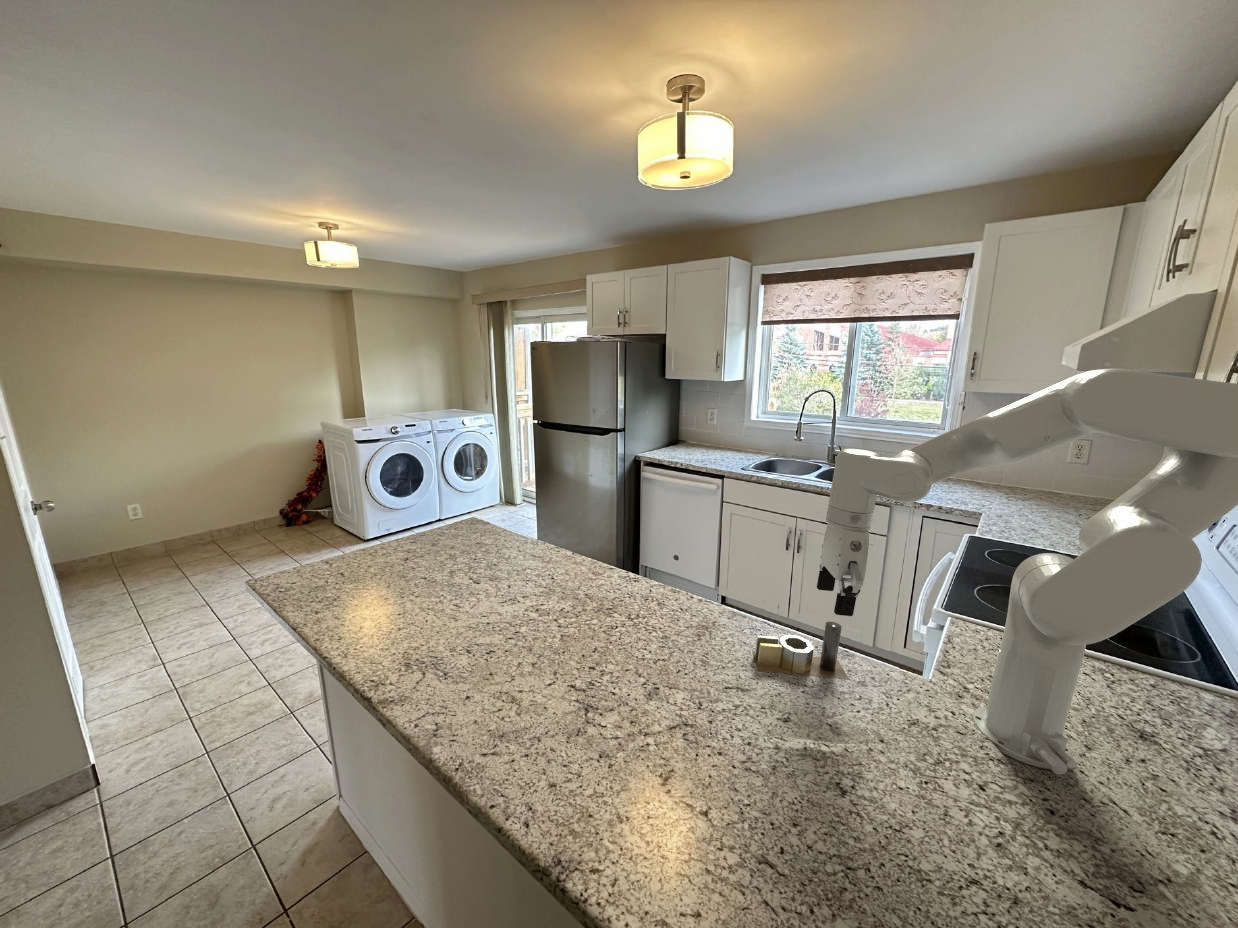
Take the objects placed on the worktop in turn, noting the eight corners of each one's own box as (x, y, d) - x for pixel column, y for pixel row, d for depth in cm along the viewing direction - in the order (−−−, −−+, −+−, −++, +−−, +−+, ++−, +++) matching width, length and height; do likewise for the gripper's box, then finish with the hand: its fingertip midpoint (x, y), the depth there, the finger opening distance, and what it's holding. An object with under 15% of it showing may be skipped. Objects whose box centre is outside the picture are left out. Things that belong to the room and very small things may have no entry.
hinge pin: (837, 672, 92) (843, 629, 91) (822, 670, 93) (828, 628, 91) (832, 663, 95) (838, 622, 93) (817, 662, 95) (823, 620, 94)
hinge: (813, 674, 91) (817, 653, 90) (759, 669, 92) (762, 648, 91) (804, 656, 97) (807, 636, 96) (753, 651, 98) (755, 631, 97)
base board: (848, 682, 91) (849, 679, 90) (757, 674, 92) (758, 670, 92) (836, 662, 97) (836, 658, 97) (751, 654, 98) (751, 651, 98)
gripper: (892, 534, 79) (873, 628, 83) (851, 504, 96) (837, 583, 100) (846, 530, 80) (829, 623, 83) (813, 501, 97) (800, 579, 100)
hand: (833, 601), depth 92 cm, fingers open, 9 cm apart
